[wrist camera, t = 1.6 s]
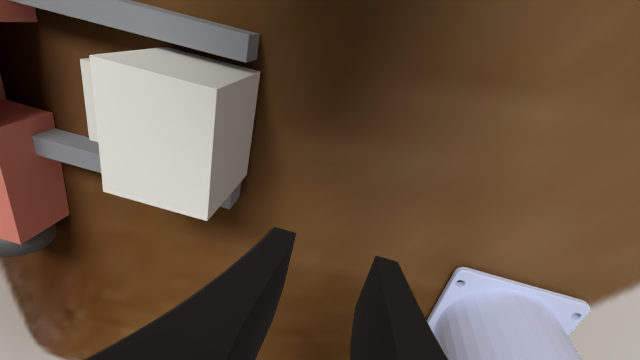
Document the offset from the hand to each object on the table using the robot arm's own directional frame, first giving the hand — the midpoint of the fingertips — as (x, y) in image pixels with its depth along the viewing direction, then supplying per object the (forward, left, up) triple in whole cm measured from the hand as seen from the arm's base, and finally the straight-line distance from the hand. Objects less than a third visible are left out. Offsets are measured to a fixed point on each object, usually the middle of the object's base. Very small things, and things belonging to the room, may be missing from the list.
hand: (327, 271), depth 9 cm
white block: (0, +9, -9) cm, 13 cm away
